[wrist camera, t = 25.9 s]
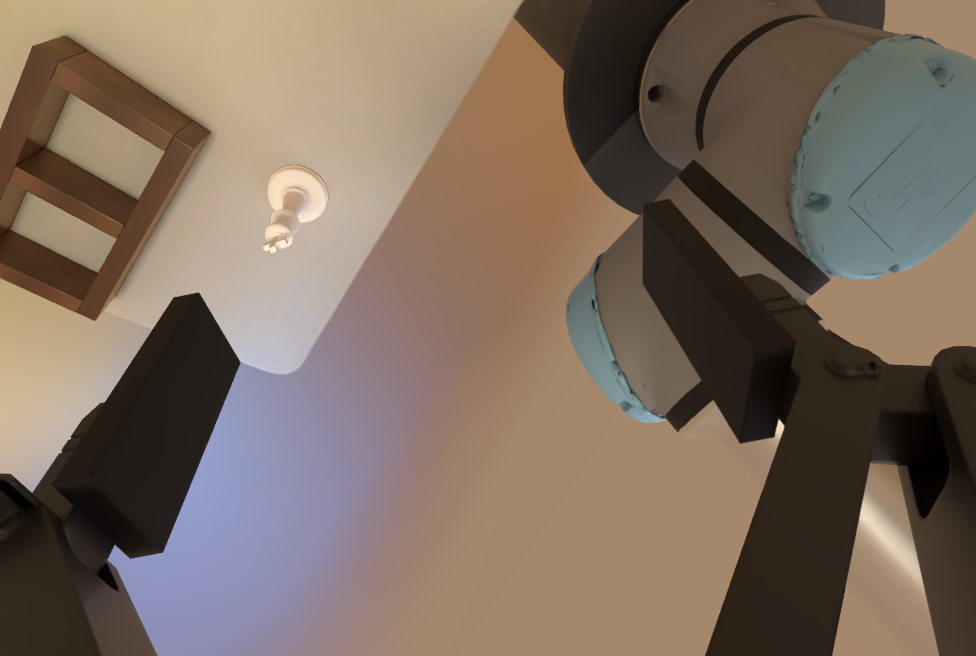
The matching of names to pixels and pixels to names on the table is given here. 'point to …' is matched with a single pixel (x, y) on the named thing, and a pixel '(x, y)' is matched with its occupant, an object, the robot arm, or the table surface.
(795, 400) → the robot arm
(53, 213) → the table surface
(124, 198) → the rack
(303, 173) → the chess piece
